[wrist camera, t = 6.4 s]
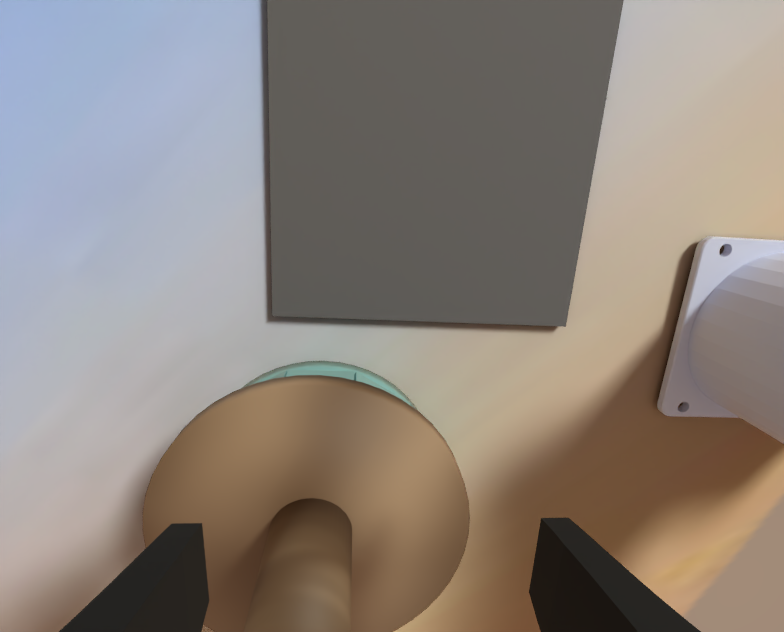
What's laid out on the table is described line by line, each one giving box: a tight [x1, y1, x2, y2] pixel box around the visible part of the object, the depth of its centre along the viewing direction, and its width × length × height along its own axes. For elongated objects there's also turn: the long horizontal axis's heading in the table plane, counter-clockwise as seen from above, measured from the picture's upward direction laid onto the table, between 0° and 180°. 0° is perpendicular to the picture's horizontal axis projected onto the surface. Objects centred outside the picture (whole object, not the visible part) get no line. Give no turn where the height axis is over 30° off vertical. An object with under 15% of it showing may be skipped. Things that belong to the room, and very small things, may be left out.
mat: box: [267, 0, 623, 327], centre depth 16 cm, size 12×12×1 cm
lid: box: [143, 375, 470, 632], centre depth 13 cm, size 11×11×5 cm
